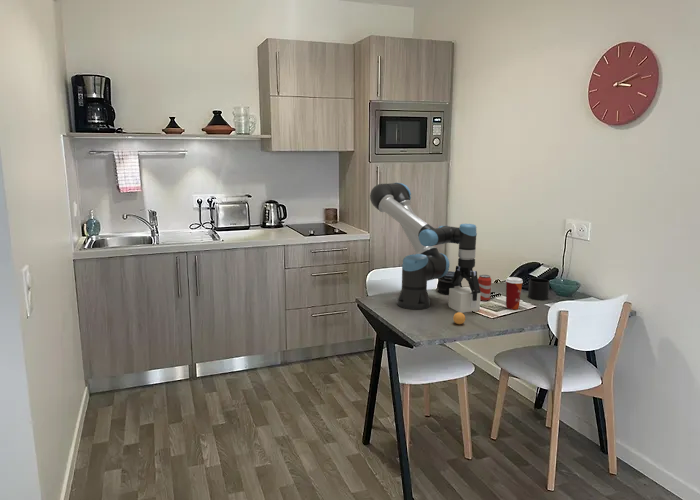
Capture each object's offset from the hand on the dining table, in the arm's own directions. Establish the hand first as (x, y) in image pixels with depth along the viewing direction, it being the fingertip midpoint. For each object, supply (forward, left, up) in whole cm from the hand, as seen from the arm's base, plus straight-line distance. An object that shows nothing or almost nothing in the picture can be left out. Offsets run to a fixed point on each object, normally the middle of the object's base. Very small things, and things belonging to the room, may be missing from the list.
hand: (464, 303), depth 242 cm
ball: (+1, -23, 0) cm, 23 cm away
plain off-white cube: (0, 0, -3) cm, 3 cm away
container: (-11, +27, -3) cm, 30 cm away
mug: (+33, +34, -3) cm, 47 cm away
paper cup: (+21, +10, -3) cm, 23 cm away
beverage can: (+7, +19, -3) cm, 20 cm away
